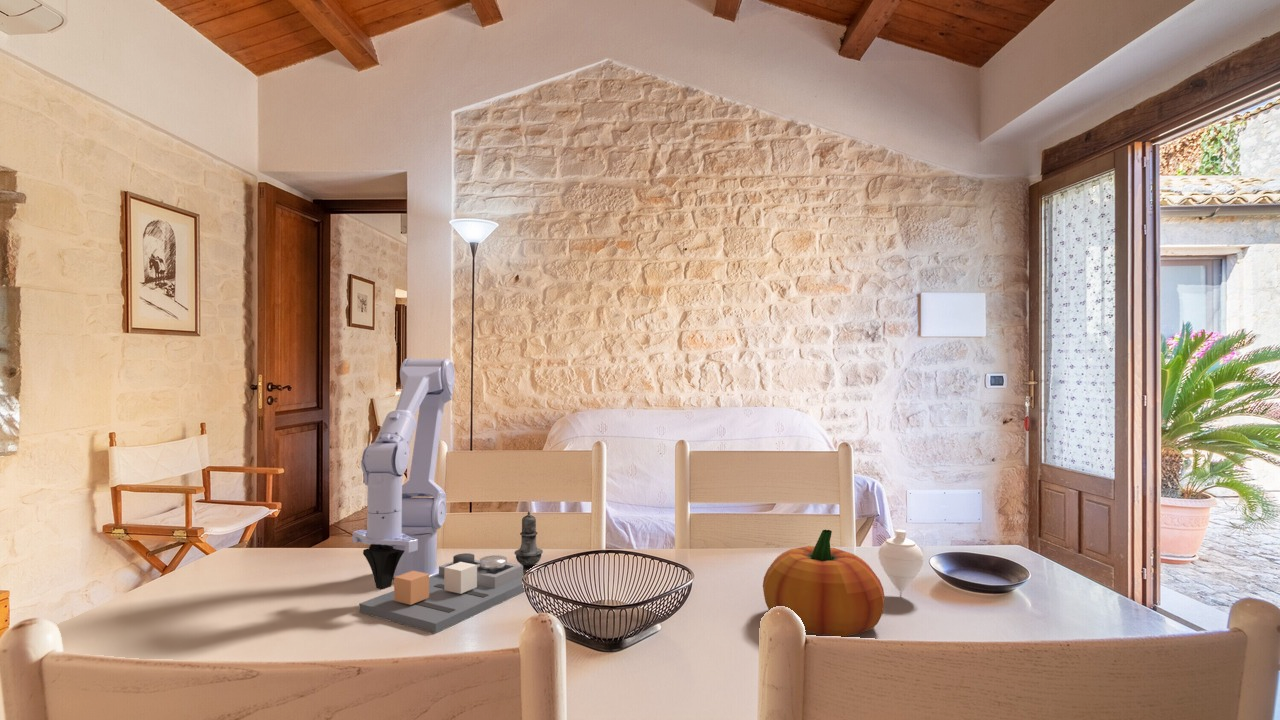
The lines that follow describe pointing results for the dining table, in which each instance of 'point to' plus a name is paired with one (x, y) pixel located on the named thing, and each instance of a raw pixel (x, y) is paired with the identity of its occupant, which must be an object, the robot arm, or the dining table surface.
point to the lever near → (411, 587)
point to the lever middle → (460, 577)
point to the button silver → (493, 563)
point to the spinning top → (900, 560)
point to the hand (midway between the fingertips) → (383, 587)
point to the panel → (449, 600)
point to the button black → (464, 558)
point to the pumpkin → (825, 589)
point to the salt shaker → (528, 544)
